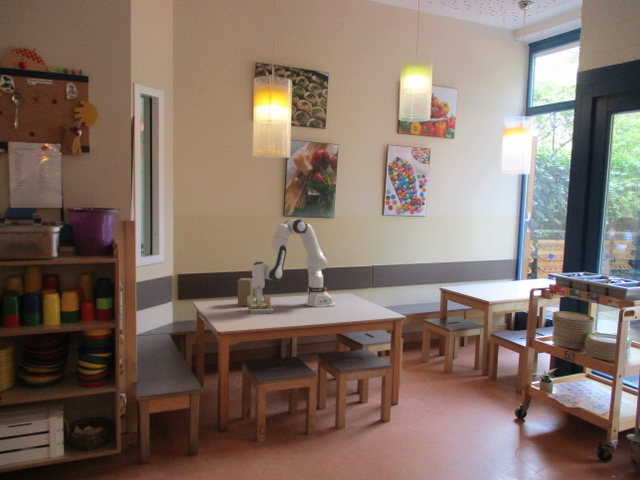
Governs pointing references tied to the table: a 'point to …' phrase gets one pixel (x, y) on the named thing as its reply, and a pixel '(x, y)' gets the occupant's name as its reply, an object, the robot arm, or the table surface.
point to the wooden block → (244, 290)
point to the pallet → (258, 305)
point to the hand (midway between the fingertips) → (258, 303)
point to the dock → (260, 310)
